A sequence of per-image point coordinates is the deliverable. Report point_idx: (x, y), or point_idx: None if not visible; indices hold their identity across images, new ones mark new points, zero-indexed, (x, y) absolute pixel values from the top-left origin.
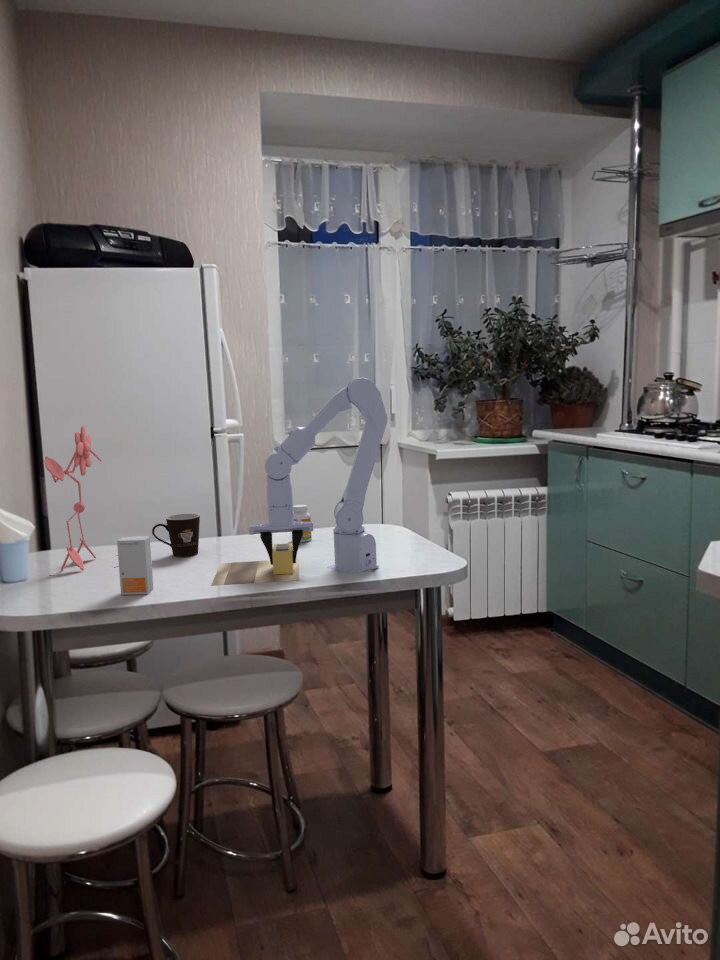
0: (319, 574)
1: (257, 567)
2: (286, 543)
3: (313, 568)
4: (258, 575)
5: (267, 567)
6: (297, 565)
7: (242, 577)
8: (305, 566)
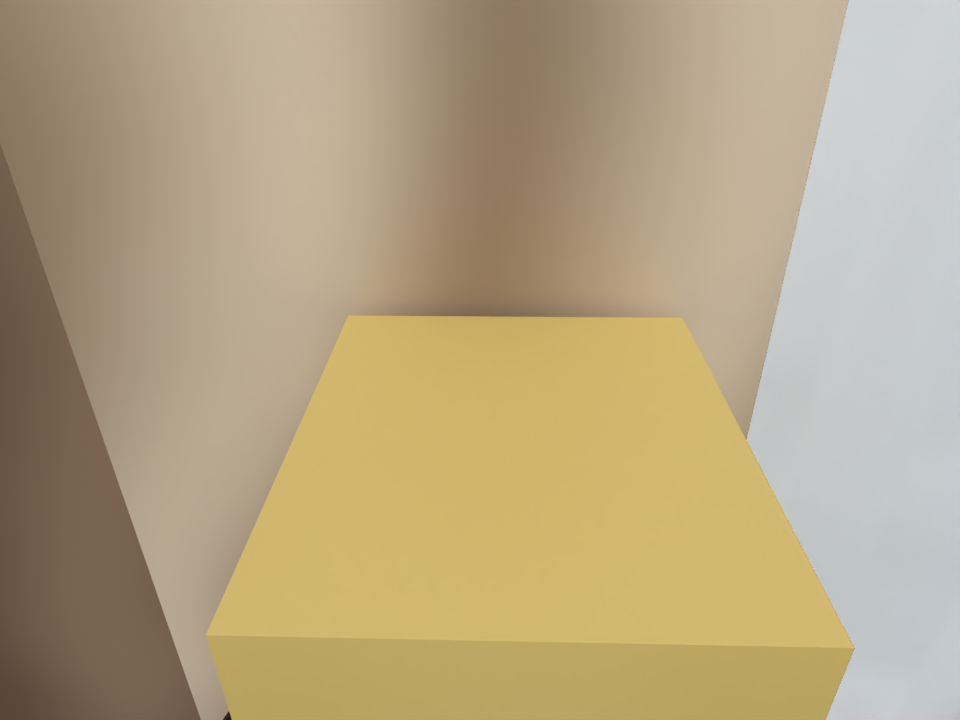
0: (914, 668)
1: (74, 363)
2: (644, 651)
3: (947, 429)
4: (221, 689)
5: (245, 399)
6: (733, 384)
7: (61, 716)
8: (868, 291)
